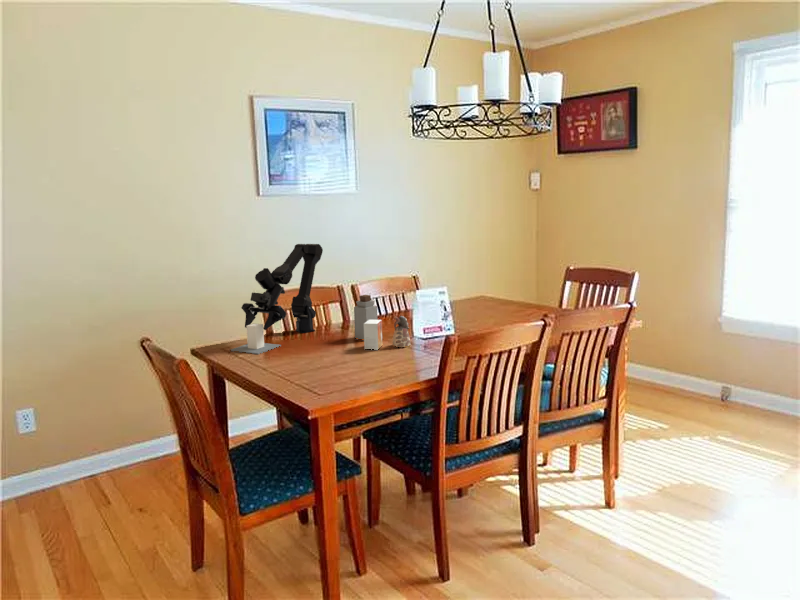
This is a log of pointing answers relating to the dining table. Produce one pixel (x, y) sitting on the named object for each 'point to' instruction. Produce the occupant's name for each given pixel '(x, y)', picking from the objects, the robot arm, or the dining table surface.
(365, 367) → the dining table surface
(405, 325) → the figurine
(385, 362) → the dining table surface
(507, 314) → the dining table surface
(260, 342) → the pale block
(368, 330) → the small box
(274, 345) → the charcoal mat
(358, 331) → the grey bottle
